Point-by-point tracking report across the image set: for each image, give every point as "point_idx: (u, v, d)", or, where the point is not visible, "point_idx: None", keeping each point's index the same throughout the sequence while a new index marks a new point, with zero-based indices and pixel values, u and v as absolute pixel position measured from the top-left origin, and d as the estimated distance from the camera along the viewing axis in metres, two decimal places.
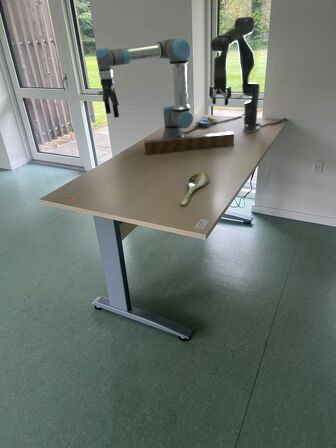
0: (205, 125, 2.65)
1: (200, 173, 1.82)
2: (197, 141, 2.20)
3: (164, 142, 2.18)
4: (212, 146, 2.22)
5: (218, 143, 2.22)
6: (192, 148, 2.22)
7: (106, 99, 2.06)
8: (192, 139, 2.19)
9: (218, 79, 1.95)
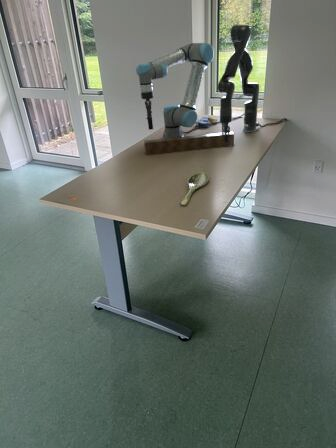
0: (205, 125, 2.65)
1: (200, 173, 1.82)
2: (197, 141, 2.20)
3: (164, 142, 2.18)
4: (212, 146, 2.22)
5: (218, 143, 2.22)
6: (192, 148, 2.22)
7: None
8: (192, 139, 2.19)
9: (220, 117, 2.14)
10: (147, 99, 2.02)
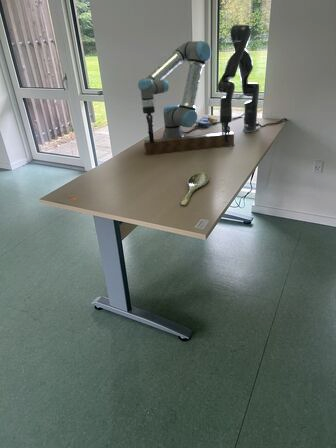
0: (205, 125, 2.65)
1: (200, 173, 1.82)
2: (197, 141, 2.20)
3: (164, 142, 2.18)
4: (212, 146, 2.22)
5: (218, 143, 2.22)
6: (192, 148, 2.22)
7: None
8: (192, 139, 2.19)
9: (220, 117, 2.14)
10: (148, 113, 2.07)
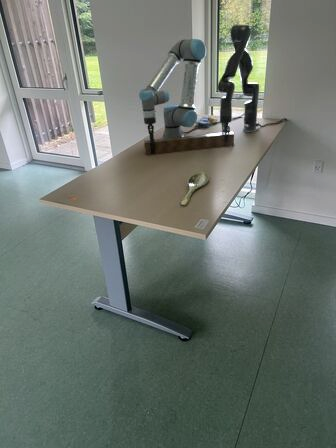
0: (205, 125, 2.65)
1: (200, 173, 1.82)
2: (197, 141, 2.20)
3: (164, 142, 2.18)
4: (212, 146, 2.22)
5: (218, 143, 2.22)
6: (192, 148, 2.22)
7: None
8: (192, 139, 2.19)
9: (220, 117, 2.14)
10: (150, 124, 2.10)
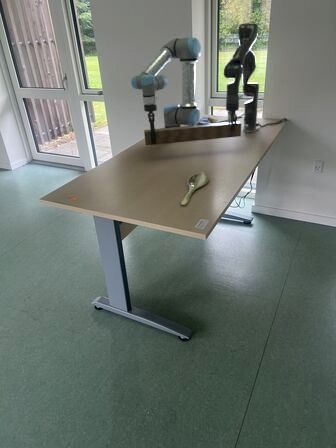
0: None
1: (200, 173, 1.82)
2: (202, 131, 2.04)
3: (165, 132, 2.02)
4: (217, 136, 2.06)
5: (224, 134, 2.05)
6: (195, 138, 2.06)
7: None
8: (196, 129, 2.02)
9: (227, 104, 1.98)
10: (150, 112, 1.94)
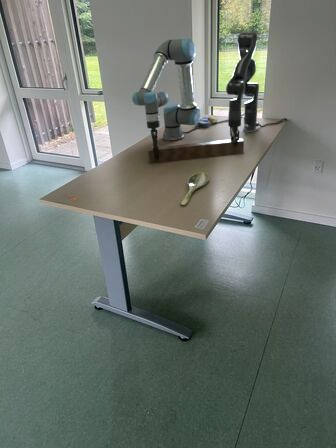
0: (205, 125, 2.65)
1: (200, 173, 1.82)
2: (205, 149, 2.06)
3: (169, 150, 2.04)
4: (220, 154, 2.09)
5: (226, 151, 2.08)
6: (199, 156, 2.08)
7: None
8: (199, 146, 2.05)
9: (229, 121, 1.99)
10: (153, 128, 1.95)
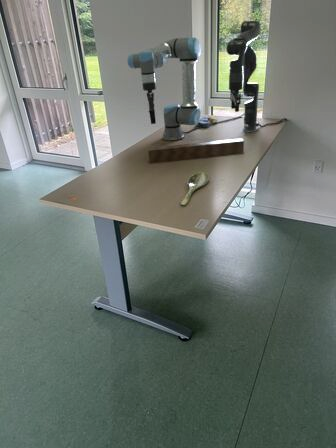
0: (205, 125, 2.65)
1: (200, 173, 1.82)
2: (205, 149, 2.06)
3: (169, 150, 2.04)
4: (220, 154, 2.09)
5: (226, 151, 2.08)
6: (199, 156, 2.08)
7: None
8: (199, 146, 2.05)
9: (230, 83, 1.89)
10: (149, 90, 1.84)
